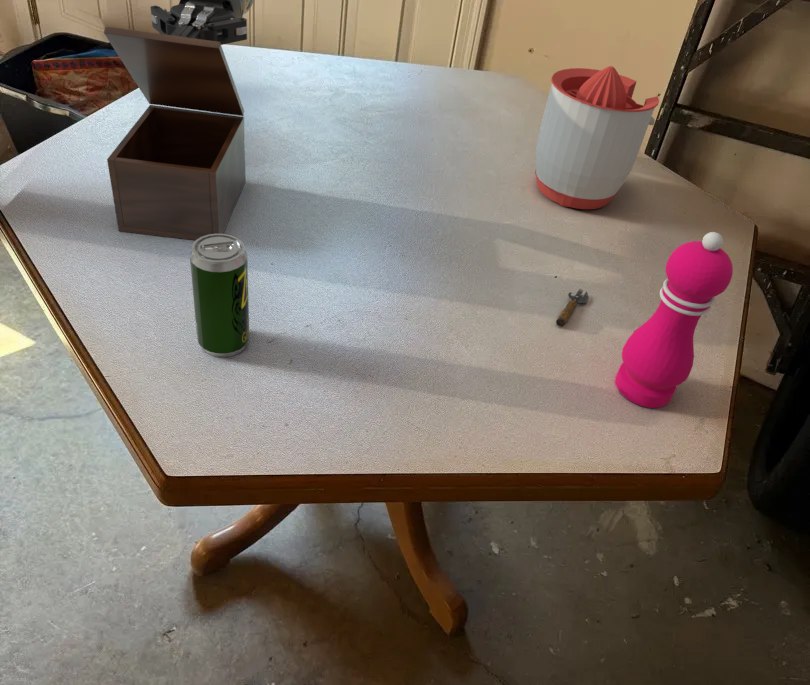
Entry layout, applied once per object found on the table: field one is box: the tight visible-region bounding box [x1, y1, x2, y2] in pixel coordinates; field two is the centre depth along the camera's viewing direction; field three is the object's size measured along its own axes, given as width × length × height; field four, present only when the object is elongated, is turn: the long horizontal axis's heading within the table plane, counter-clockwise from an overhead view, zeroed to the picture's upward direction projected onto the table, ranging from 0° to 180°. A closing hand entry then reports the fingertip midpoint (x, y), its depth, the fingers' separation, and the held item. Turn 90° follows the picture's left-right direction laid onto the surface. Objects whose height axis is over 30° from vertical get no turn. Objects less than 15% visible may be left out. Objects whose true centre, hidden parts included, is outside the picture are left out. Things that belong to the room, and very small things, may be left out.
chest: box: [106, 104, 246, 241], centre depth 92 cm, size 17×13×10 cm
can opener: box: [555, 288, 589, 327], centre depth 87 cm, size 9×2×1 cm, turn 145°
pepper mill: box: [614, 231, 734, 409], centre depth 71 cm, size 7×7×20 cm
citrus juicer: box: [534, 65, 660, 210], centre depth 106 cm, size 16×17×20 cm
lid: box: [103, 26, 245, 117], centre depth 86 cm, size 17×13×1 cm
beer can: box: [189, 233, 250, 358], centre depth 71 cm, size 5×5×12 cm
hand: (181, 44), depth 85 cm, fingers closed
